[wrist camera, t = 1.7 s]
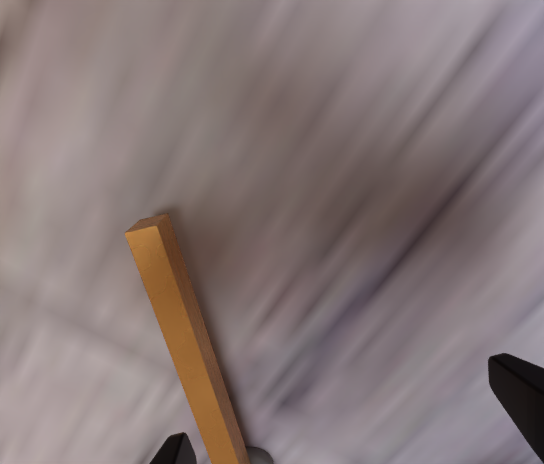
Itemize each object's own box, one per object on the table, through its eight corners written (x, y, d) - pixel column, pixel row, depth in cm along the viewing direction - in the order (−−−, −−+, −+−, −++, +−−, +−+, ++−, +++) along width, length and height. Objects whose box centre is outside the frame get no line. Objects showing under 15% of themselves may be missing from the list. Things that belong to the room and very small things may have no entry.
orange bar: (274, 499, 23) (277, 536, 21) (231, 509, 23) (229, 548, 21) (184, 209, 17) (174, 221, 14) (124, 223, 17) (106, 237, 14)
